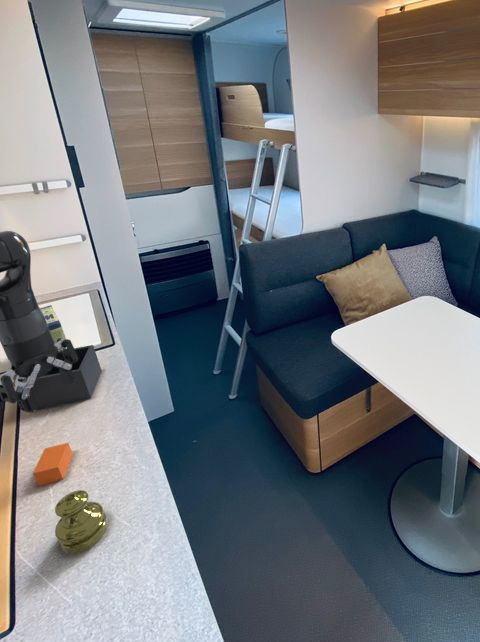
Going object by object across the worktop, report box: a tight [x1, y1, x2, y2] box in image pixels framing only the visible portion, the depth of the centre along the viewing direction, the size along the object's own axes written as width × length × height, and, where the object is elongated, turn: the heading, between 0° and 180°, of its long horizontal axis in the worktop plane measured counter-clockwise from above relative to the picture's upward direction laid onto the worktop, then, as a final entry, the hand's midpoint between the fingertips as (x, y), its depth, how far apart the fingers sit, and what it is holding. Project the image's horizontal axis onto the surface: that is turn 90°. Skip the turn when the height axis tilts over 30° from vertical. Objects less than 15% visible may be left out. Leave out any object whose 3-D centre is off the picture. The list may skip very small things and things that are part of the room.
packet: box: [32, 442, 74, 487], centre depth 90 cm, size 7×4×4 cm, turn 20°
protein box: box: [39, 304, 67, 351], centre depth 125 cm, size 10×16×16 cm
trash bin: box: [24, 344, 103, 411], centre depth 113 cm, size 13×13×10 cm
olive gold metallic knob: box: [54, 489, 109, 555], centre depth 75 cm, size 7×7×10 cm
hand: (50, 396), depth 87 cm, fingers open, 8 cm apart
